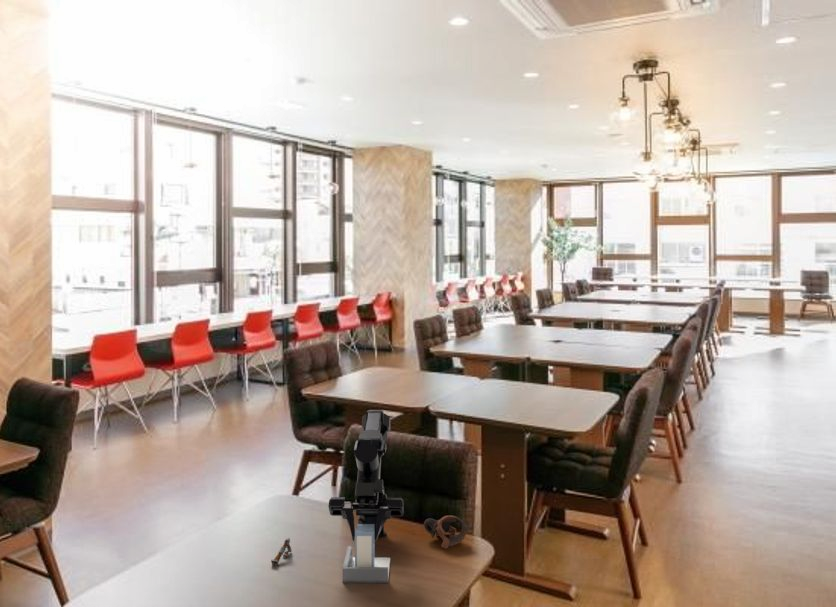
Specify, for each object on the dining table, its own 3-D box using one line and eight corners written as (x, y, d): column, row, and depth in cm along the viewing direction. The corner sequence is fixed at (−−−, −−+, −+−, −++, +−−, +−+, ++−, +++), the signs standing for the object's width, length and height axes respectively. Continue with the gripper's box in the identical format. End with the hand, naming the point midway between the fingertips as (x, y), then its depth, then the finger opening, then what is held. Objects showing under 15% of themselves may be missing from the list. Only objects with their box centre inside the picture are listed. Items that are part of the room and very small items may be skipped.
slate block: (356, 566, 168) (356, 524, 167) (374, 566, 168) (374, 524, 167) (355, 575, 164) (354, 532, 163) (373, 575, 164) (373, 532, 163)
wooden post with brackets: (295, 548, 177) (291, 536, 175) (280, 573, 171) (276, 561, 168) (289, 547, 178) (285, 535, 176) (274, 571, 171) (270, 559, 169)
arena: (347, 559, 173) (347, 546, 173) (390, 559, 173) (390, 546, 173) (342, 582, 161) (342, 568, 161) (387, 583, 161) (387, 569, 161)
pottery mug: (465, 535, 189) (471, 517, 184) (458, 563, 181) (464, 545, 176) (424, 522, 190) (429, 503, 186) (416, 549, 183) (421, 530, 178)
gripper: (329, 466, 168) (323, 527, 158) (403, 467, 168) (401, 528, 158) (333, 485, 176) (327, 544, 166) (403, 485, 176) (402, 545, 166)
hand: (364, 540), depth 164 cm, fingers open, 5 cm apart
